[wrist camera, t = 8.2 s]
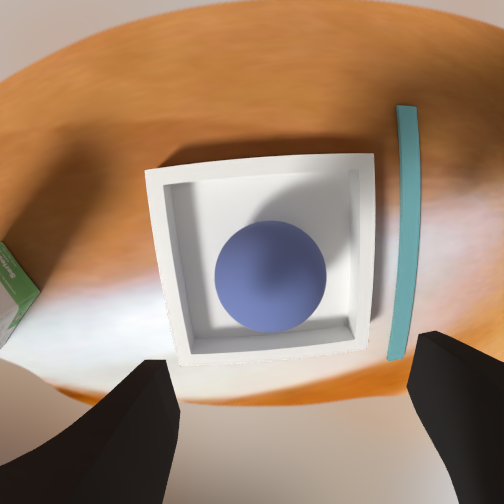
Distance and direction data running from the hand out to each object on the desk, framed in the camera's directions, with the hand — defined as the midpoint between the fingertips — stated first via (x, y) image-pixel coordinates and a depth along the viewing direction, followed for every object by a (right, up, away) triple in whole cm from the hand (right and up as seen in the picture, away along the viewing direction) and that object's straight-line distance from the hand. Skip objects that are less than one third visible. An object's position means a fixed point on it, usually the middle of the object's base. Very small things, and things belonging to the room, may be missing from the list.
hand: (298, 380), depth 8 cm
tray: (0, +3, +9) cm, 9 cm away
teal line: (+8, +4, +9) cm, 12 cm away
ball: (0, +2, +6) cm, 7 cm away
